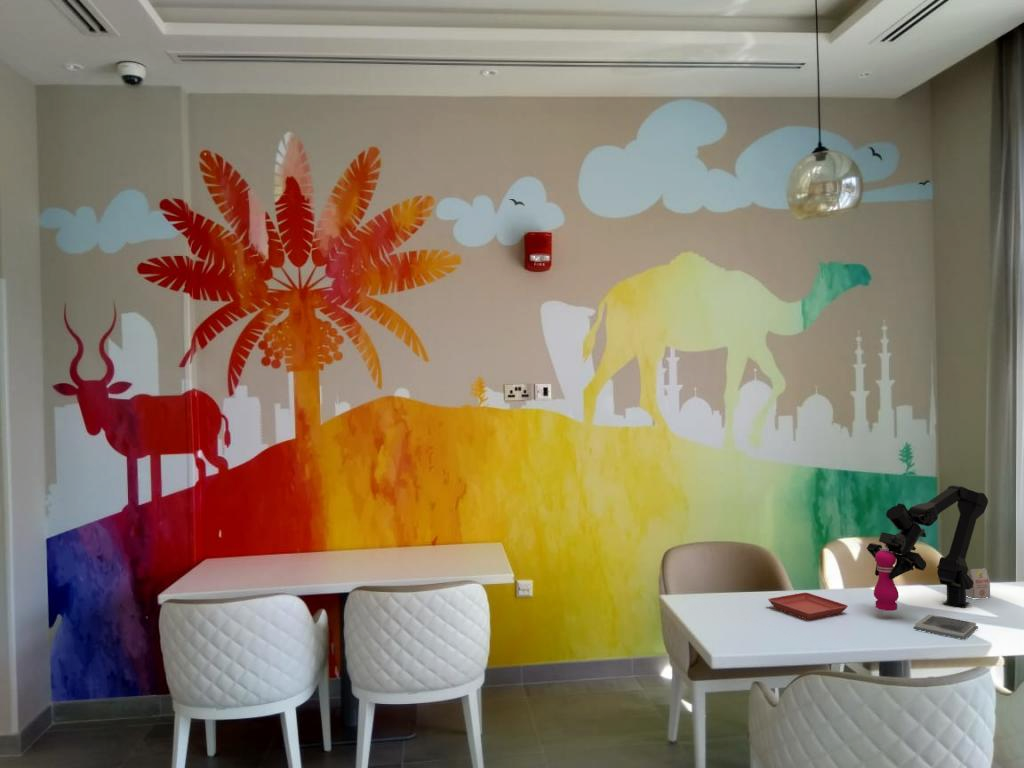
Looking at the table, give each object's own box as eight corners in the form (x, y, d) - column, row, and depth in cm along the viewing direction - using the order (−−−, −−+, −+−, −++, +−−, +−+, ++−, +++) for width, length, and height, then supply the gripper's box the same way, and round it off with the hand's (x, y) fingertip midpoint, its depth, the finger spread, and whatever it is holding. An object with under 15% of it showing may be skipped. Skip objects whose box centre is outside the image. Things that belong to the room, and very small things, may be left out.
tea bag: (965, 596, 271) (964, 568, 271) (981, 595, 272) (981, 567, 272) (973, 599, 268) (972, 570, 268) (990, 598, 269) (989, 569, 269)
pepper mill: (902, 611, 245) (900, 548, 245) (877, 611, 246) (876, 548, 246) (894, 604, 252) (893, 543, 252) (871, 604, 253) (869, 543, 253)
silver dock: (927, 619, 246) (927, 613, 246) (977, 628, 237) (977, 622, 237) (913, 629, 236) (913, 623, 236) (965, 640, 226) (965, 633, 226)
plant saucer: (849, 615, 253) (849, 604, 253) (809, 623, 245) (809, 612, 245) (805, 601, 269) (805, 592, 269) (766, 608, 261) (766, 598, 261)
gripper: (869, 518, 259) (846, 555, 255) (919, 528, 242) (894, 567, 238) (887, 539, 262) (864, 576, 258) (937, 550, 245) (913, 589, 241)
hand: (882, 576), depth 249 cm, fingers closed on pepper mill, 5 cm apart
